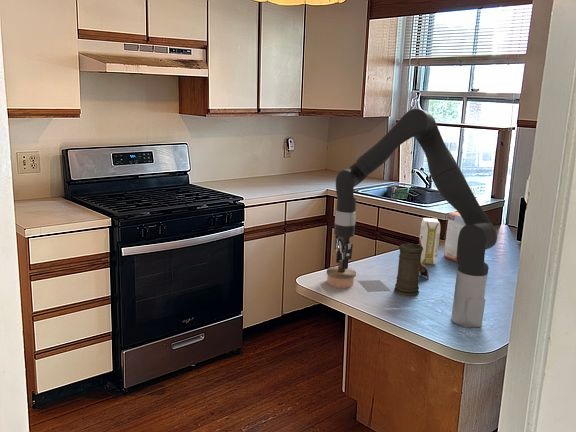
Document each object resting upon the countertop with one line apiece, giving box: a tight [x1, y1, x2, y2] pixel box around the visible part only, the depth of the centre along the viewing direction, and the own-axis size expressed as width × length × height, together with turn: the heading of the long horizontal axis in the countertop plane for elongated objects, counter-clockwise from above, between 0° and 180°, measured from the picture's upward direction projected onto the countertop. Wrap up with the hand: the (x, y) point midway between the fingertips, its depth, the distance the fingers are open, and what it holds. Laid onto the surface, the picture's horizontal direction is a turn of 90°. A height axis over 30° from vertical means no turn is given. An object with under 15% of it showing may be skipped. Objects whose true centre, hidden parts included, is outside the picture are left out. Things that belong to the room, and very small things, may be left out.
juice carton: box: [418, 217, 441, 266], centre depth 232 cm, size 8×9×19 cm
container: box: [393, 242, 423, 297], centre depth 195 cm, size 9×9×18 cm
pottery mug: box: [419, 262, 430, 281], centre depth 214 cm, size 12×10×8 cm
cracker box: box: [443, 211, 465, 263], centre depth 237 cm, size 14×6×21 cm, turn 22°
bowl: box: [326, 274, 355, 289], centre depth 202 cm, size 10×10×4 cm
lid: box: [326, 260, 357, 279], centre depth 201 cm, size 11×11×5 cm
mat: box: [357, 279, 392, 293], centre depth 201 cm, size 11×9×1 cm
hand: (341, 265), depth 201 cm, fingers open, 6 cm apart
